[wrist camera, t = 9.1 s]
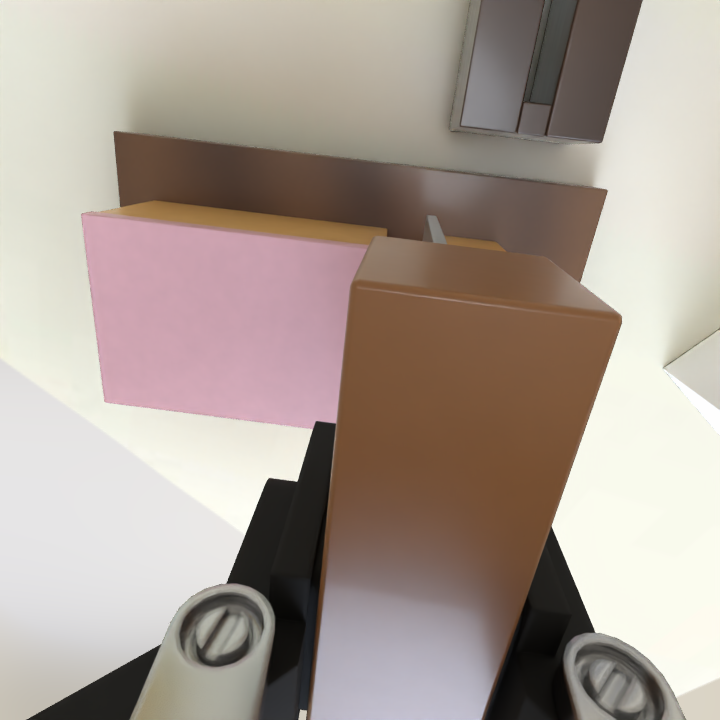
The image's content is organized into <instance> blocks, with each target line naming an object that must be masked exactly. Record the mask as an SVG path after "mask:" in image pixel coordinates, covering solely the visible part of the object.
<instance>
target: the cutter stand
mask: <svg viewBox="0 0 720 720" xmlns="http://www.w3.org/2000/svg"><path fill="white" fill-rule="evenodd" d="M642 1H643V0H552V3H551V8H550V12H549V17H548V21H547V26H546V30H545V35H544V39H543V44H542V48H541V53H540V57H539V62H538V66H537V71H536V75H535V80H534V84H533V89H532V93H531V98H530V102H526V101H525V102H523V99H524V95H525V90H526V85H527V81H528V76H529V72H530V67H531V62H532V58H533V53H534V49H535V44H536V39H537V35H538V30H539V26H540V21H541V16H542V12H543V7H544V3H545V0H470V5H469V11H468V17H467V24H466V30H465V36H464V42H463V48H462V54H461V60H460V66H459V72H458V78H457V84H456V90H455V96H454V102H453V108H452V114H451V120H450V126H449V130H450V131H458V132H467V133H475V134H484V135H493V136H501V137H510V138H518V139H521V138H523V139H527V140H535V141H544V142H553V143H561V144H591V143H601V142H602V141H603V137H604V134H605V130H606V127H607V123H608V120H609V116H610V113H611V109H612V106H613V102H614V99H615V95H616V92H617V88H618V85H619V81H620V78H621V74H622V71H623V67H624V64H625V60H626V57H627V53H628V50H629V46H630V43H631V39H632V36H633V32H634V29H635V25H636V22H637V18H638V15H639V11H640V8H641V4H642Z"/></svg>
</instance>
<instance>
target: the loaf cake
mask: <svg viewBox="0 0 720 720" xmlns="http://www.w3.org/2000/svg"><path fill="white" fill-rule="evenodd" d="M81 217H82V225H83V233H84V241H85V249H86V257H87V265H88V273H89V281H90V289H91V297H92V305H93V313H94V321H95V329H96V337H97V345H98V353H99V361H100V369H101V377H102V385H103V393H104V401H105V402H106V403H114V404H122V405H130V406H137V407H145V408H153V409H161V410H169V411H177V412H184V413H192V414H200V415H208V416H216V417H223V418H231V419H239V420H247V421H255V422H263V423H270V424H278V425H286V426H294V427H302V428H310V429H313V428H314V425H315V422H316V421H321V422H329V423H336V420H337V410H338V400H339V390H340V380H341V370H342V361H343V351H344V341H345V331H346V321H347V311H348V301H349V291H350V285H351V283H352V281H353V278H354V276H355V274H356V272H357V270H358V268H359V266H360V263H361V261H362V259H363V257H364V255H365V253H366V251H367V248H368V246H369V244H370V242H371V240H372V238H373V237H374V236H385V237H387V229H386V228H379V227H371V226H362V225H354V224H346V223H338V222H329V221H321V220H313V219H304V218H296V217H288V216H280V215H271V214H263V213H255V212H246V211H238V210H230V209H222V208H213V207H205V206H197V205H189V204H180V203H172V202H164V201H155V200H154V201H149V202H144V203H139V204H135V205H130V206H125V207H120V208H116V209H111V210H106V211H101V212H92V211H91V212H86V213H82V214H81Z"/></svg>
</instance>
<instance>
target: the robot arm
mask: <svg viewBox="0 0 720 720" xmlns="http://www.w3.org/2000/svg"><path fill="white" fill-rule="evenodd" d="M335 430H336V423H329V422H321V421H316V422H315V425H314V428H313V431H312V435H311V438H310V442H309V445H308V448H307V452H306V455H305V458H304V462H303V465H302V468H301V472H300V475H299V479H298V482H295V481H287V480H280V479H272V478H269V479H268V480H267V482H266V484H265V486H264V489H263V492H262V494H261V497H260V499H259V502H258V504H257V507H256V509H255V512H254V514H253V517H252V520H251V522H250V525H249V527H248V530H247V532H246V535H245V537H244V540H243V543H242V545H241V548H240V550H239V553H238V555H237V558H236V560H235V563H234V566H233V568H232V571H231V573H230V576H229V578H228V581H227V583H226V584H219V585H216V586H213V587H209V588H206V589H204V590H202V591H200V592H198V593H197V594H195V595H193V596H191V597H190V598H189V599H188V600H187V601H186V602H185V603H184V604H183V605H182V606H181V607H180V608H179V609H178V611H177V613H176V614H175V616H174V617H173V619H172V621H171V622H170V625H169V627H168V630H167V632H166V634H165V637H164V639H163V641H162V644H161V645H159V646H157V647H155V648H154V649H152V650H150V651H148V652H146V653H145V654H143V655H141V656H139V657H138V658H136V659H134V660H132V661H130V662H128V663H127V664H125V665H123V666H121V667H120V668H118V669H116V670H114V671H112V672H111V673H109V674H107V675H105V676H104V677H102V678H100V679H98V680H97V681H95V682H93V683H91V684H89V685H88V686H86V687H84V688H82V689H80V690H79V691H77V692H75V693H73V694H71V695H70V696H68V697H66V698H64V699H63V700H61V701H59V702H57V703H55V704H54V705H52V706H50V707H48V708H47V709H45V710H43V711H41V712H39V713H38V714H36V715H34V716H32V717H30V718H29V719H27V720H298V718H299V712H300V709H301V710H307V707H308V697H309V687H310V677H311V667H312V657H313V648H314V638H315V628H316V618H317V608H318V598H319V588H320V578H321V568H322V558H323V549H324V539H325V529H326V519H327V509H328V499H329V489H330V479H331V469H332V460H333V450H334V440H335ZM484 720H686V719H685V716H684V714H683V712H682V710H681V708H680V706H679V703H678V701H677V699H676V697H675V695H674V693H673V691H672V689H671V688H670V686H669V684H668V683H667V681H666V679H665V678H664V676H663V674H662V673H661V672H660V671H659V670H658V669H657V668H656V667H655V666H654V665H653V663H652V662H651V661H650V660H649V659H648V658H646V657H645V656H644V655H643V654H641V653H640V652H639V651H638V650H636V649H635V648H634V647H632V646H630V645H628V644H627V643H625V642H623V641H621V640H619V639H617V638H615V637H611V636H608V635H605V634H601V633H595V631H594V628H593V626H592V623H591V621H590V618H589V616H588V614H587V611H586V609H585V606H584V604H583V602H582V599H581V597H580V594H579V592H578V589H577V587H576V585H575V582H574V580H573V577H572V575H571V573H570V570H569V568H568V565H567V563H566V560H565V558H564V556H563V553H562V551H561V548H560V546H559V544H558V541H557V539H556V536H555V534H554V531H553V529H552V527H551V528H550V531H549V534H548V537H547V540H546V543H545V546H544V549H543V551H542V554H541V557H540V560H539V563H538V566H537V569H536V572H535V574H534V577H533V580H532V583H531V586H530V589H529V592H528V595H527V598H526V600H525V603H524V606H523V609H522V612H521V615H520V618H519V621H518V623H517V626H516V629H515V632H514V635H513V638H512V641H511V644H510V646H509V649H508V652H507V655H506V658H505V661H504V664H503V667H502V669H501V672H500V675H499V678H498V681H497V684H496V687H495V690H494V692H493V695H492V698H491V701H490V704H489V707H488V710H487V713H486V716H485V718H484Z"/></svg>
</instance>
